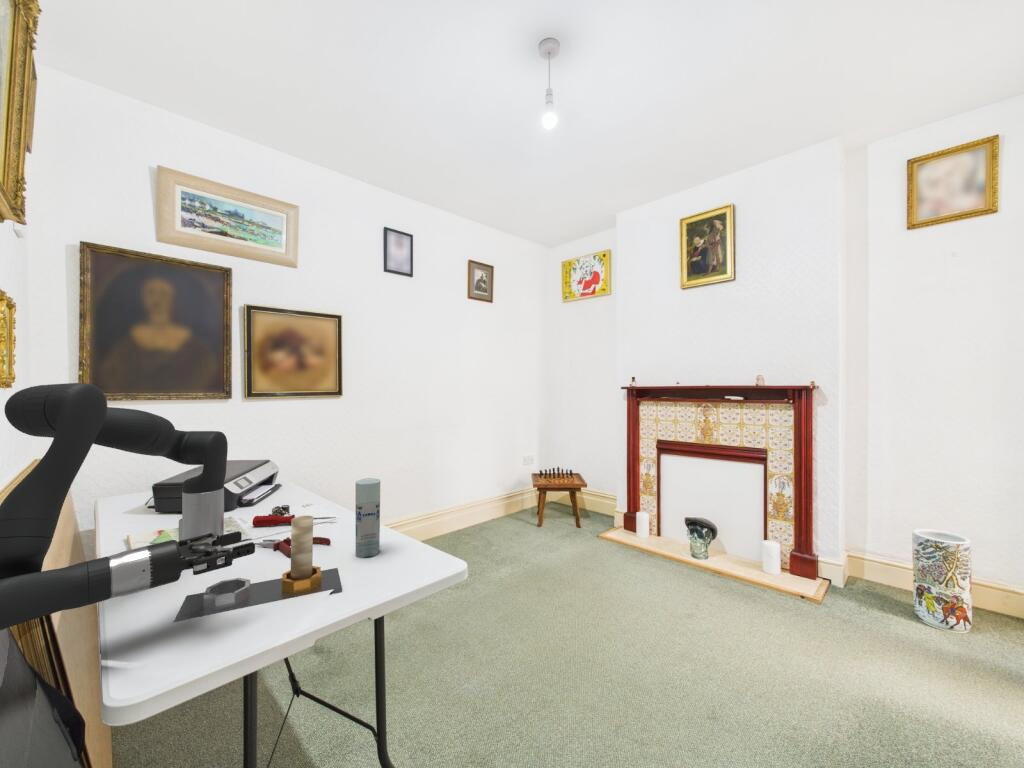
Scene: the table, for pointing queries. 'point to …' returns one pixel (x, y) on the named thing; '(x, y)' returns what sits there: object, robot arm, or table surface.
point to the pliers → (289, 544)
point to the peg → (301, 547)
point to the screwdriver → (276, 520)
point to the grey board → (256, 593)
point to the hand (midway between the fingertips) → (247, 541)
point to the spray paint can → (367, 517)
